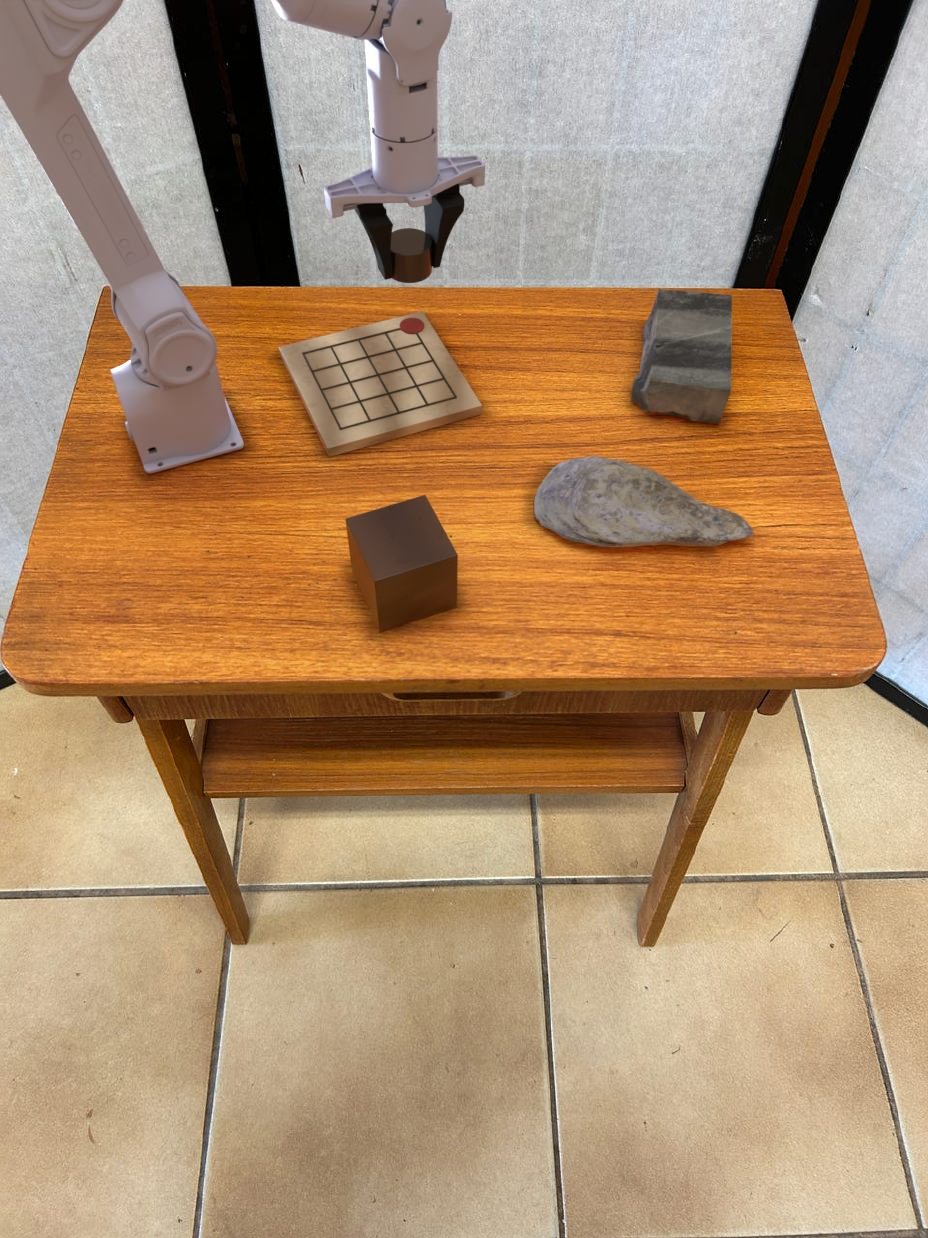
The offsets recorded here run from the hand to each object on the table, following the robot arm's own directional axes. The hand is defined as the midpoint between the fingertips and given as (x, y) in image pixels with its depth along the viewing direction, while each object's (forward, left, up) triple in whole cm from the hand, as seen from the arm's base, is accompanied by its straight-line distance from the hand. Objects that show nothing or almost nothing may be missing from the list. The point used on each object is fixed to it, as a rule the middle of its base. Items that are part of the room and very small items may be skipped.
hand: (408, 267), depth 91 cm
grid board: (-5, -3, -10) cm, 12 cm away
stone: (+11, -29, -11) cm, 33 cm away
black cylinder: (0, 0, 0) cm, 0 cm away
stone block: (+24, -13, -11) cm, 30 cm away
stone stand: (-12, -29, -10) cm, 33 cm away
